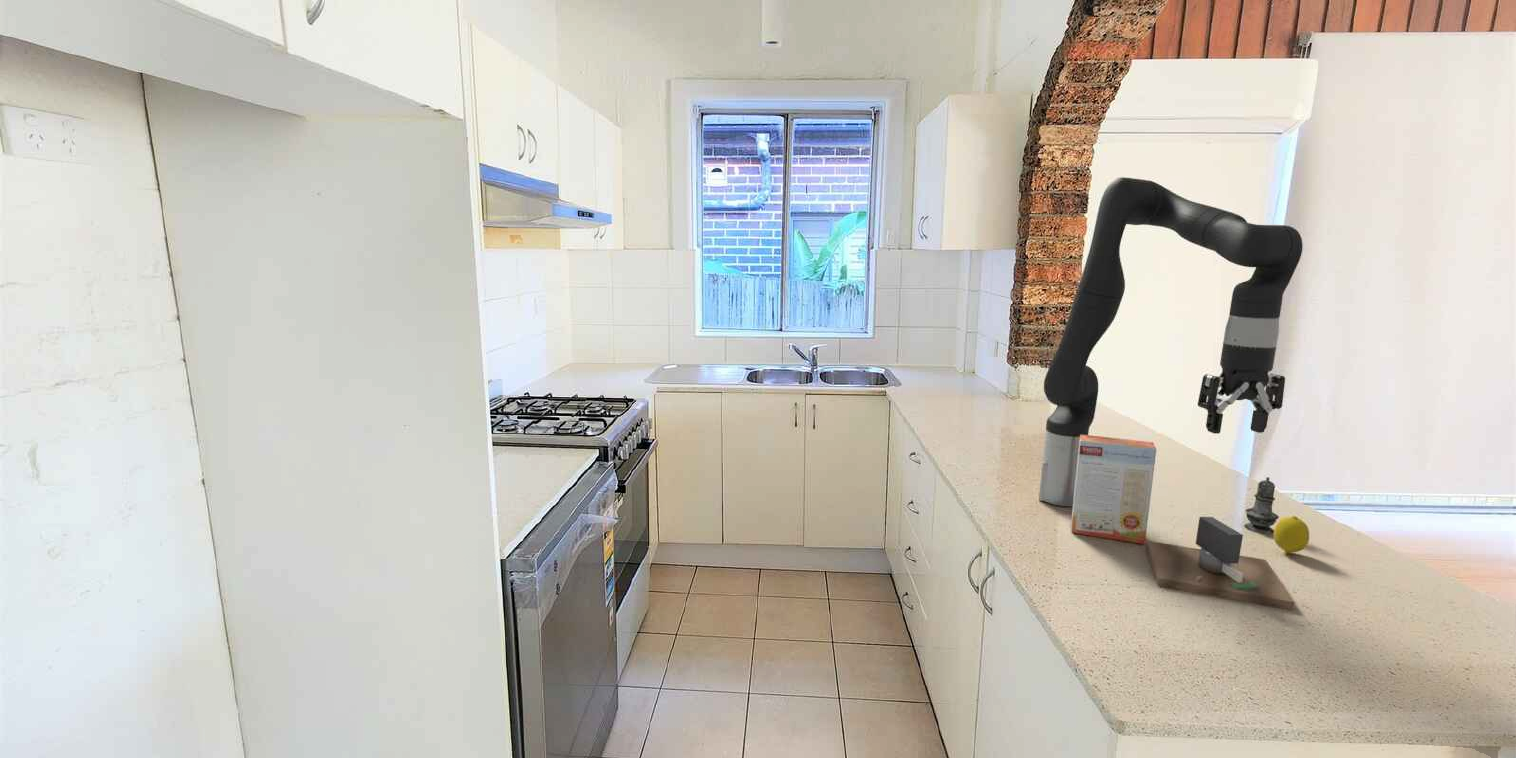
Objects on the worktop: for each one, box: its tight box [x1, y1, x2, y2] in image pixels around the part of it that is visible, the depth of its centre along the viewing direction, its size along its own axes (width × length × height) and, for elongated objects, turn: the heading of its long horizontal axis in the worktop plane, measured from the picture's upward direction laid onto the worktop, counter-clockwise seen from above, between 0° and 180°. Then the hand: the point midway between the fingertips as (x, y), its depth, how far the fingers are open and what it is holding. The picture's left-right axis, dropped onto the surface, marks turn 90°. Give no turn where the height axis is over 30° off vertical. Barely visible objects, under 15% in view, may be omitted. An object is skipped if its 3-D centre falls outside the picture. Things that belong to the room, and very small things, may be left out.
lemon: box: [1273, 515, 1310, 555], centre depth 132 cm, size 6×6×8 cm
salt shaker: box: [1243, 476, 1279, 535], centre depth 144 cm, size 6×6×12 cm
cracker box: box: [1070, 434, 1157, 545], centre depth 140 cm, size 14×6×21 cm, turn 65°
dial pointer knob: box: [1195, 516, 1244, 582], centre depth 121 cm, size 10×5×8 cm, turn 1°
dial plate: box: [1145, 540, 1295, 611], centre depth 124 cm, size 20×17×2 cm
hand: (1235, 432), depth 118 cm, fingers open, 8 cm apart
